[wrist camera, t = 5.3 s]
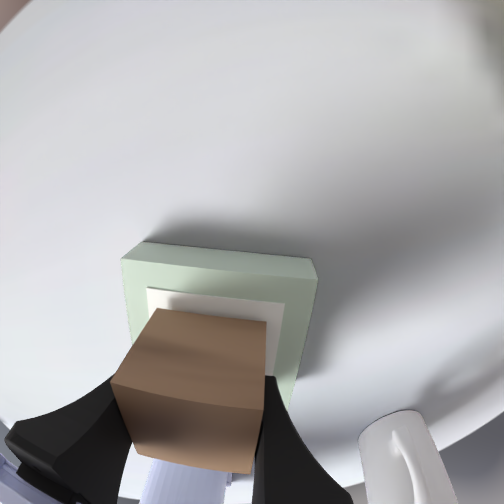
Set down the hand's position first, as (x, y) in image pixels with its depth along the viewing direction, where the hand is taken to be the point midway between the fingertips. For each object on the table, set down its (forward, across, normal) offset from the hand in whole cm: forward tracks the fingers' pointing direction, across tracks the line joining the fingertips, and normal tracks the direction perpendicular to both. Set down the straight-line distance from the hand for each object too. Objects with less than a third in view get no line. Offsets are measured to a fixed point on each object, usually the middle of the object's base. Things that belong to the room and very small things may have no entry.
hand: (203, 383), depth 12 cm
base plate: (+5, 0, 0) cm, 5 cm away
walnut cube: (+2, 0, 0) cm, 2 cm away
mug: (+5, -14, +10) cm, 18 cm away
